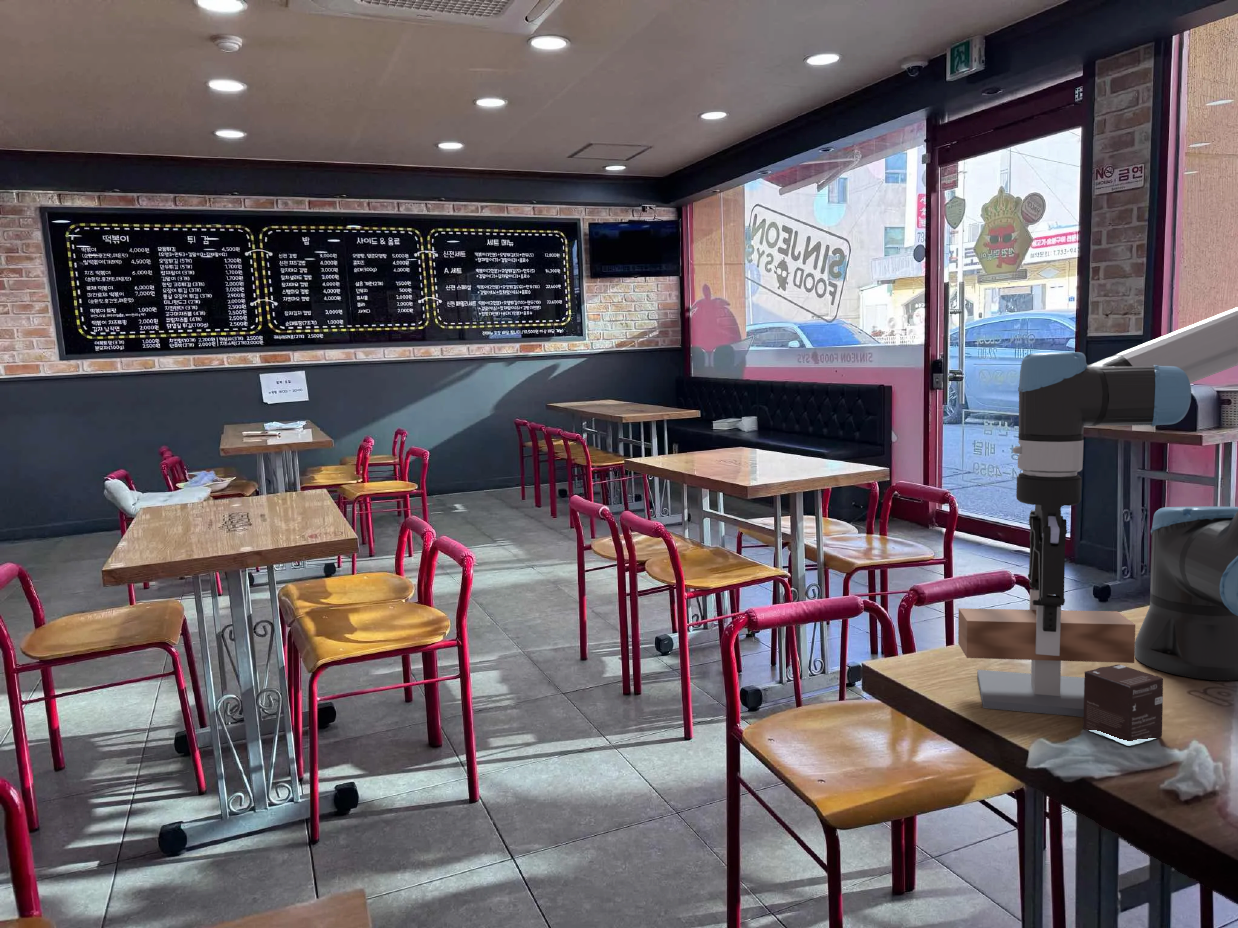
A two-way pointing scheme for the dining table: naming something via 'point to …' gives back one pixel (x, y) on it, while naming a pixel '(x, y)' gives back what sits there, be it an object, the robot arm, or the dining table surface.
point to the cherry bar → (1016, 635)
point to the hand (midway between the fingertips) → (1043, 645)
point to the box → (1123, 702)
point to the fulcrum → (1033, 690)
